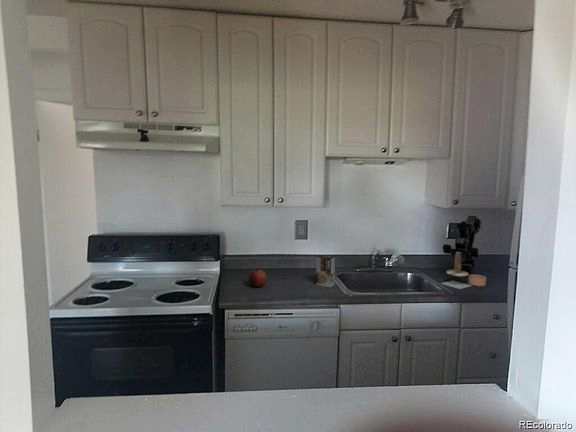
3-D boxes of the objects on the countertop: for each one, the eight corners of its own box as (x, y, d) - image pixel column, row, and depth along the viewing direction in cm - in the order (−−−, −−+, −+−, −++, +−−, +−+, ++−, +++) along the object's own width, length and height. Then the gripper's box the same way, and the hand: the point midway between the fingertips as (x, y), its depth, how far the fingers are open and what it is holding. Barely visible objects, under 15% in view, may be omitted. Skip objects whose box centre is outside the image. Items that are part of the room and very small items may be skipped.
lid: (444, 274, 218) (445, 255, 217) (448, 270, 227) (450, 252, 226) (466, 277, 211) (467, 258, 210) (470, 273, 221) (471, 254, 220)
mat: (440, 284, 222) (440, 283, 222) (452, 281, 229) (452, 280, 228) (460, 289, 212) (460, 288, 212) (471, 286, 219) (472, 285, 219)
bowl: (465, 283, 225) (465, 275, 224) (473, 281, 230) (474, 273, 229) (480, 287, 217) (480, 279, 217) (488, 284, 222) (489, 277, 222)
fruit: (249, 283, 215) (249, 265, 214) (267, 283, 214) (267, 266, 213) (246, 289, 204) (246, 270, 203) (265, 289, 204) (265, 271, 202)
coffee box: (335, 284, 215) (336, 256, 213) (330, 287, 210) (331, 258, 208) (320, 282, 220) (321, 254, 218) (315, 285, 214) (316, 256, 212)
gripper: (444, 230, 225) (438, 252, 217) (479, 234, 215) (474, 256, 207) (446, 241, 232) (440, 263, 225) (480, 246, 222) (475, 268, 214)
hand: (457, 262), depth 217 cm, fingers closed on lid, 3 cm apart
